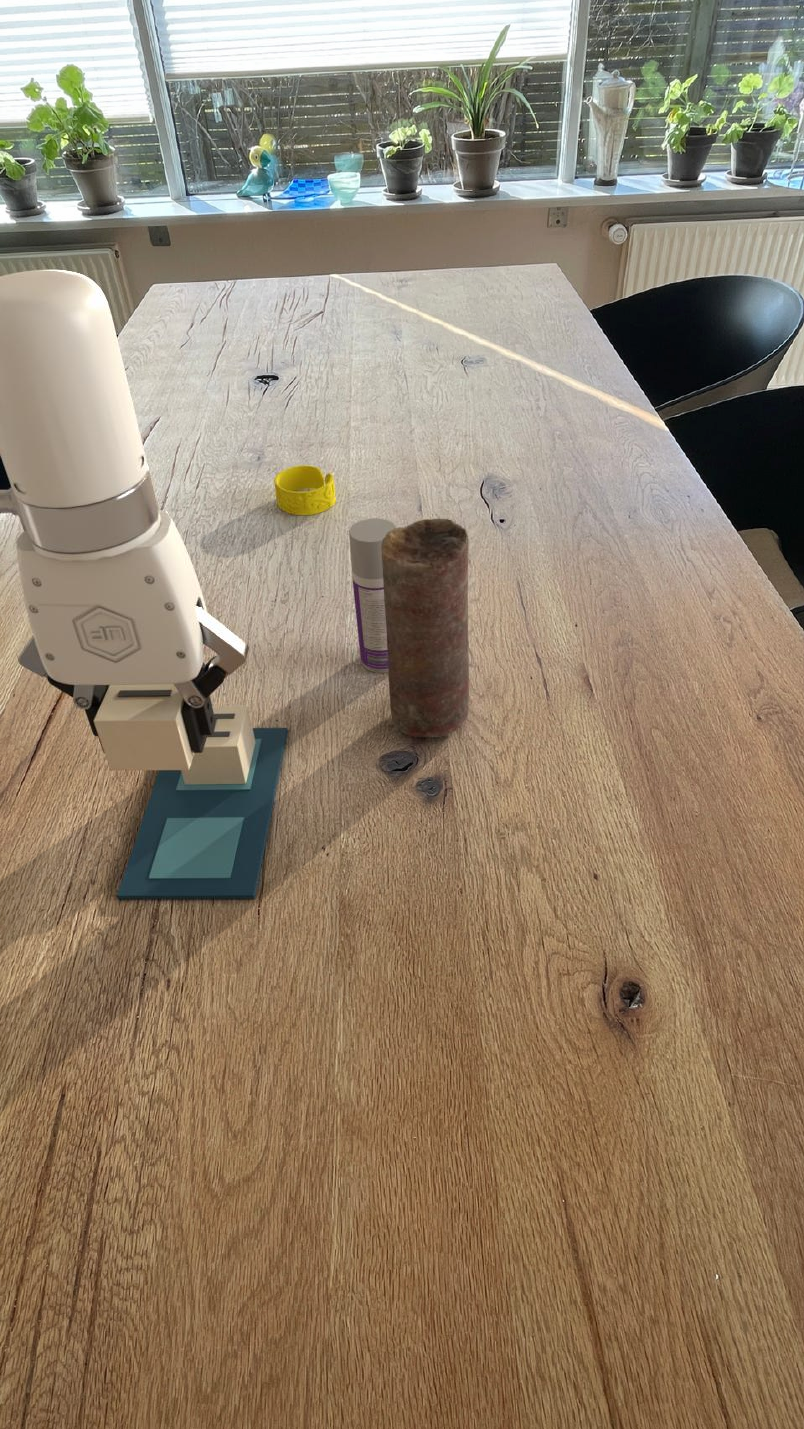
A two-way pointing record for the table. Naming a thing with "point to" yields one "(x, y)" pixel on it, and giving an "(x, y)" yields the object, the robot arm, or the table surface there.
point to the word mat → (206, 832)
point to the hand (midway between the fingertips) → (157, 738)
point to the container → (370, 591)
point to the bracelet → (305, 500)
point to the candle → (427, 626)
